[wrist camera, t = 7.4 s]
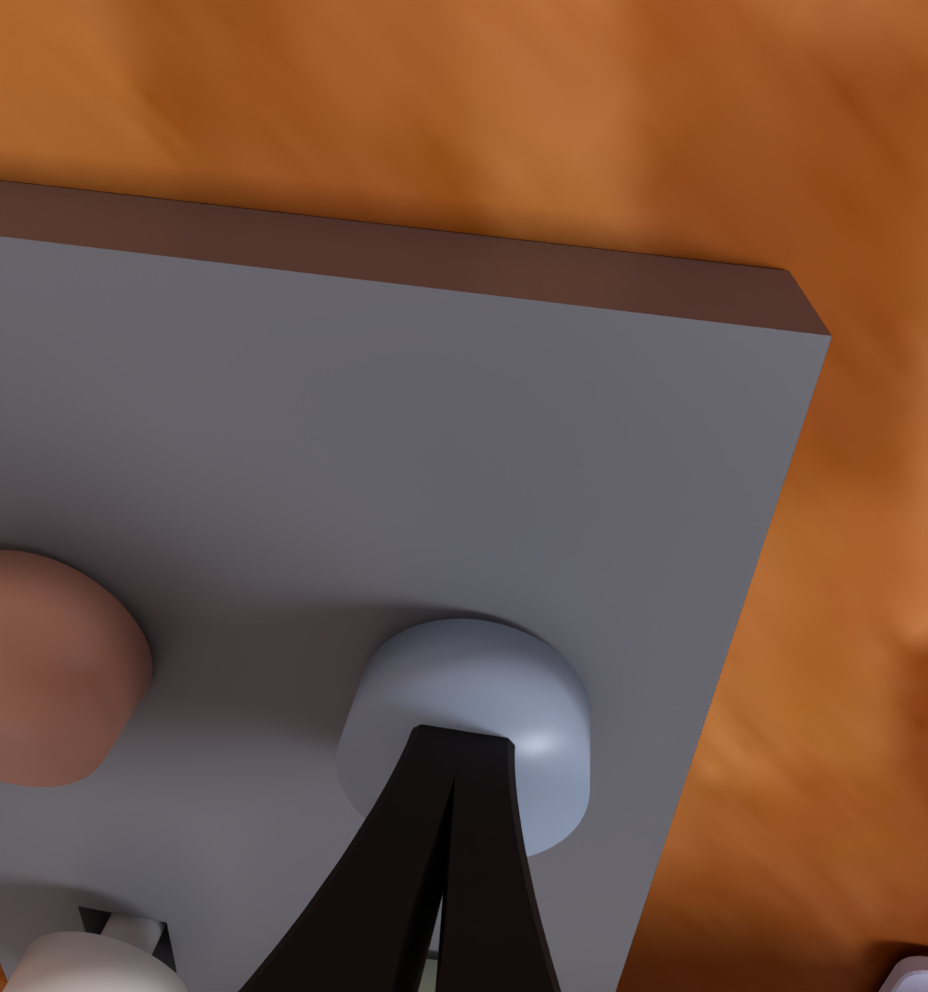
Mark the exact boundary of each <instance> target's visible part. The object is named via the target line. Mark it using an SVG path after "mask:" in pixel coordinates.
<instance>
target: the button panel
mask: <svg viewBox="0 0 928 992" xmlns="http://www.w3.org/2000/svg"><path fill="white" fill-rule="evenodd" d="M831 337H832V335H831V334H830V332H829V331H828V329H827V328H826V326H825V325H824V323H823V322H822V320H821V319H820V317H819V316H818V314H817V313H816V311H815V310H814V308H813V307H812V305H811V303H810V302H809V300H808V299H807V297H806V296H805V294H804V293H803V291H802V290H801V288H800V287H799V285H798V284H797V282H796V281H795V279H794V278H793V276H792V275H791V273H790V272H789V271H787V270H778V269H769V268H760V267H752V266H743V265H734V264H725V263H717V262H708V261H699V260H690V259H682V258H673V257H664V256H655V255H647V254H638V253H629V252H620V251H612V250H603V249H594V248H585V247H577V246H568V245H559V244H550V243H542V242H533V241H524V240H515V239H507V238H498V237H489V236H480V235H472V234H463V233H454V232H445V231H437V230H428V229H419V228H410V227H402V226H393V225H384V224H375V223H367V222H358V221H349V220H341V219H332V218H323V217H314V216H306V215H297V214H288V213H279V212H271V211H262V210H253V209H244V208H236V207H227V206H218V205H209V204H201V203H192V202H183V201H174V200H166V199H157V198H148V197H139V196H131V195H122V194H113V193H104V192H96V191H87V190H78V189H69V188H61V187H52V186H43V185H34V184H26V183H17V182H8V181H0V550H14V551H23V552H28V553H33V554H37V555H40V556H44V557H47V558H50V559H53V560H56V561H58V562H60V563H63V564H65V565H68V566H70V567H71V568H73V569H75V570H77V571H79V572H81V573H83V574H84V575H86V576H88V577H89V578H91V579H92V580H94V581H95V582H97V583H98V584H99V585H101V586H102V587H103V588H105V589H106V590H107V591H108V592H110V593H111V594H112V595H113V596H114V597H115V598H116V599H117V600H118V601H119V602H120V603H121V604H122V605H123V606H124V607H125V608H126V609H127V611H128V612H129V613H130V614H131V616H132V617H133V618H134V620H135V621H136V622H137V624H138V625H139V627H140V629H141V631H142V633H143V634H144V636H145V639H146V641H147V644H148V646H149V649H150V653H151V657H152V667H153V670H152V679H151V683H150V686H149V689H148V691H147V692H146V694H145V696H144V698H143V699H142V701H141V702H140V704H139V706H138V707H137V709H136V710H135V712H134V713H133V715H132V717H131V718H130V720H129V721H128V723H127V724H126V726H125V728H124V729H123V731H122V732H121V734H120V735H119V737H118V738H117V740H116V742H115V743H114V745H113V746H112V748H111V749H110V751H109V753H108V754H107V756H106V757H105V759H104V760H103V762H102V763H101V765H100V766H99V767H98V768H97V769H96V770H95V771H94V772H93V773H91V774H90V775H89V776H87V777H85V778H83V779H81V780H80V781H77V782H74V783H71V784H67V785H62V786H57V787H29V786H21V785H15V784H10V783H5V782H1V781H0V964H1V966H2V969H3V971H4V973H5V976H6V978H7V981H9V979H10V978H11V976H12V974H13V973H14V971H15V969H16V968H17V966H18V964H19V963H20V961H21V959H22V957H23V956H24V954H25V952H26V951H27V949H28V947H29V946H30V944H31V943H32V942H33V941H34V940H36V939H37V938H39V937H41V936H44V935H46V934H50V933H55V932H65V931H75V932H86V933H93V934H98V935H101V933H102V931H103V929H104V927H105V925H106V923H107V921H108V919H109V918H110V916H111V914H112V912H113V913H118V914H123V915H129V916H134V917H140V918H145V919H151V920H156V921H161V922H167V923H166V925H165V927H164V930H163V932H162V934H161V936H160V938H159V940H158V943H157V945H156V947H155V949H154V951H153V953H152V956H154V957H155V958H157V959H159V960H160V961H161V962H163V963H164V964H165V965H167V966H168V967H169V968H170V969H171V970H173V971H174V972H175V973H176V974H177V976H178V977H179V978H180V979H181V980H182V982H183V983H184V984H185V986H186V988H187V990H188V992H238V991H239V990H240V989H241V988H242V987H243V985H244V984H245V983H246V982H247V981H248V980H249V978H250V977H251V976H252V975H253V974H254V972H255V971H256V970H257V969H258V967H259V966H260V965H261V964H262V963H263V961H264V960H265V959H266V958H267V957H268V955H269V954H270V953H271V952H272V950H273V949H274V948H275V947H276V945H277V944H278V943H279V942H280V940H281V939H282V938H283V937H284V935H285V934H286V933H287V931H288V930H289V929H290V927H291V926H292V925H293V924H294V922H295V921H296V920H297V918H298V917H299V916H300V914H301V913H302V912H303V910H304V909H305V908H306V906H307V905H308V903H309V902H310V901H311V899H312V898H313V896H314V895H315V894H316V892H317V891H318V889H319V888H320V887H321V885H322V884H323V882H324V881H325V880H326V878H327V877H328V875H329V874H330V872H331V871H332V870H333V868H334V867H335V865H336V864H337V863H338V861H339V860H340V858H341V857H342V855H343V854H344V852H345V851H346V849H347V848H348V846H349V844H350V843H351V841H352V840H353V838H354V836H355V835H356V833H357V832H358V830H359V828H360V827H361V825H362V824H363V822H364V821H365V818H364V817H363V816H361V815H360V813H359V812H358V811H357V810H356V809H355V808H354V806H353V805H352V804H351V802H350V801H349V799H348V798H347V796H346V795H345V793H344V791H343V788H342V786H341V784H340V781H339V777H338V774H337V767H336V755H337V748H338V745H339V742H340V738H341V735H342V733H343V730H344V727H345V724H346V721H347V718H348V715H349V712H350V709H351V706H352V703H353V701H354V698H355V695H356V692H357V689H358V686H359V683H360V680H361V677H362V674H363V671H364V669H365V667H366V665H367V663H368V661H369V659H370V658H371V657H372V655H373V654H374V653H375V651H376V650H377V649H378V648H379V647H380V646H381V645H382V644H383V643H385V642H386V641H387V640H389V639H390V638H392V637H393V636H394V635H396V634H398V633H400V632H402V631H404V630H406V629H408V628H411V627H414V626H416V625H419V624H423V623H427V622H432V621H436V620H445V619H474V620H484V621H489V622H494V623H499V624H502V625H506V626H509V627H512V628H515V629H518V630H520V631H522V632H525V633H527V634H529V635H531V636H533V637H535V638H537V639H539V640H540V641H542V642H544V643H545V644H547V645H548V646H550V647H551V648H552V649H554V650H555V651H556V652H558V653H559V654H560V655H561V656H562V657H563V658H564V659H565V660H566V661H567V662H568V663H569V664H570V665H571V667H572V668H573V669H574V670H575V671H576V673H577V674H578V676H579V678H580V679H581V681H582V682H583V685H584V687H585V689H586V692H587V694H588V698H589V703H590V712H591V738H590V795H589V802H588V806H587V808H586V811H585V814H584V816H583V818H582V819H581V821H580V823H579V824H578V825H577V827H576V828H575V829H574V830H573V831H572V832H571V833H570V834H569V835H568V836H567V837H566V838H564V839H563V840H562V841H561V842H559V843H557V844H556V845H554V846H553V847H551V848H549V849H547V850H545V851H542V852H540V853H538V854H535V855H532V856H529V857H527V859H528V864H529V869H530V873H531V878H532V883H533V887H534V892H535V897H536V901H537V905H538V909H539V913H540V917H541V921H542V925H543V929H544V932H545V936H546V940H547V943H548V947H549V951H550V954H551V958H552V962H553V965H554V969H555V972H556V975H557V979H558V982H559V985H560V989H561V992H616V989H617V986H618V983H619V980H620V977H621V974H622V971H623V968H624V965H625V962H626V959H627V955H628V952H629V949H630V946H631V943H632V940H633V937H634V934H635V931H636V928H637V925H638V922H639V919H640V916H641V913H642V910H643V907H644V904H645V901H646V898H647V895H648V892H649V889H650V886H651V883H652V880H653V877H654V874H655V871H656V868H657V865H658V862H659V858H660V855H661V852H662V849H663V846H664V843H665V840H666V837H667V834H668V831H669V828H670V825H671V822H672V819H673V816H674V813H675V810H676V807H677V804H678V801H679V798H680V795H681V792H682V789H683V786H684V783H685V780H686V777H687V774H688V771H689V768H690V765H691V762H692V758H693V755H694V752H695V749H696V746H697V743H698V740H699V737H700V734H701V731H702V728H703V725H704V722H705V719H706V716H707V713H708V710H709V707H710V704H711V701H712V698H713V695H714V692H715V689H716V686H717V683H718V680H719V677H720V674H721V671H722V668H723V665H724V662H725V658H726V655H727V652H728V649H729V646H730V643H731V640H732V637H733V634H734V631H735V628H736V625H737V622H738V619H739V616H740V613H741V610H742V607H743V604H744V601H745V598H746V595H747V592H748V589H749V586H750V583H751V580H752V577H753V574H754V571H755V568H756V565H757V561H758V558H759V555H760V552H761V549H762V546H763V543H764V540H765V537H766V534H767V531H768V528H769V525H770V522H771V519H772V516H773V513H774V510H775V507H776V504H777V501H778V498H779V495H780V492H781V489H782V486H783V483H784V480H785V477H786V474H787V471H788V468H789V465H790V461H791V458H792V455H793V452H794V449H795V446H796V443H797V440H798V437H799V434H800V431H801V428H802V425H803V422H804V419H805V416H806V413H807V410H808V407H809V404H810V401H811V398H812V395H813V392H814V389H815V386H816V383H817V380H818V377H819V374H820V371H821V368H822V365H823V361H824V358H825V355H826V352H827V349H828V346H829V343H830V340H831ZM442 897H443V896H442ZM441 910H442V900H441V904H440V908H439V912H438V916H437V920H436V924H435V928H434V932H433V935H432V939H431V943H430V947H429V951H428V955H427V959H432V960H438V948H439V935H440V922H441Z"/></svg>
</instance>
